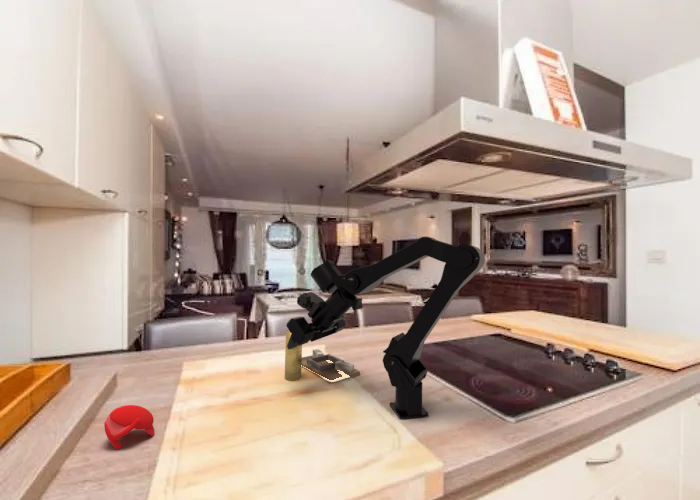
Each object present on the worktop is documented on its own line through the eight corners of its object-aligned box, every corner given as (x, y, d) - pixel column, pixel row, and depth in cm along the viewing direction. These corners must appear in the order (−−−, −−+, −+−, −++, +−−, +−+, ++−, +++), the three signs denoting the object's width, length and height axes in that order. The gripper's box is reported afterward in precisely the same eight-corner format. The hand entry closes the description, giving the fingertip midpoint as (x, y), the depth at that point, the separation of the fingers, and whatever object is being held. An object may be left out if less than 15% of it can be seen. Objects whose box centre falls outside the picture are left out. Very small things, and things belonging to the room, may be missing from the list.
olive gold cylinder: (301, 380, 83) (303, 333, 83) (284, 381, 82) (286, 333, 82) (300, 374, 87) (301, 329, 88) (284, 375, 86) (285, 330, 87)
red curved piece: (95, 439, 50) (134, 413, 52) (98, 411, 54) (134, 389, 56) (127, 461, 54) (162, 437, 56) (127, 434, 58) (160, 413, 61)
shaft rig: (360, 374, 88) (360, 364, 88) (330, 383, 82) (331, 371, 82) (320, 356, 104) (321, 347, 104) (293, 362, 97) (294, 352, 97)
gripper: (337, 281, 89) (306, 315, 95) (293, 285, 74) (259, 325, 79) (360, 311, 85) (326, 345, 91) (319, 323, 69) (281, 363, 75)
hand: (299, 343), depth 84 cm, fingers open, 9 cm apart
